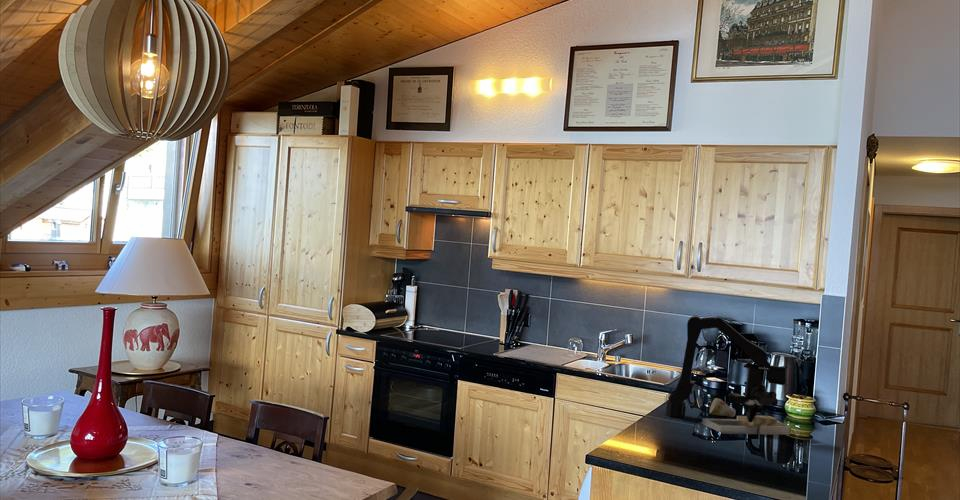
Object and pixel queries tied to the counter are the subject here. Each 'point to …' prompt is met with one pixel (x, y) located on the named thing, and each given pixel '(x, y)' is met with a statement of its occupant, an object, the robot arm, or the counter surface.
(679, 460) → the counter surface
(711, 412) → the cream ceramic pitcher
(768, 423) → the chip
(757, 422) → the chip
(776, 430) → the rail board
